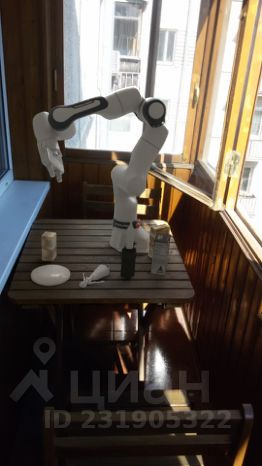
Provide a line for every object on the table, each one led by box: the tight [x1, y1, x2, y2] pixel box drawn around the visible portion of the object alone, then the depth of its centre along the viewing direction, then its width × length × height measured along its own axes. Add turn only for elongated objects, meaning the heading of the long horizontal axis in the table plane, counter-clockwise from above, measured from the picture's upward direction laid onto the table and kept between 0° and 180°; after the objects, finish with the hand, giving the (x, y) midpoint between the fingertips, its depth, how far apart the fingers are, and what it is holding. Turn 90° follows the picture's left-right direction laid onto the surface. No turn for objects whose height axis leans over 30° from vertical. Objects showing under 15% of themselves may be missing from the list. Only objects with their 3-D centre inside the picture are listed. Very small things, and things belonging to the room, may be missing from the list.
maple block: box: [40, 231, 57, 263], centre depth 174 cm, size 5×5×12 cm
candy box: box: [147, 223, 171, 259], centre depth 184 cm, size 9×4×15 cm, turn 125°
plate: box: [30, 264, 71, 287], centre depth 162 cm, size 16×16×1 cm
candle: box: [119, 222, 137, 280], centre depth 162 cm, size 5×5×25 cm
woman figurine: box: [78, 264, 111, 289], centre depth 162 cm, size 12×4×18 cm
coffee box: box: [150, 233, 172, 276], centre depth 171 cm, size 9×6×16 cm
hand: (56, 179), depth 167 cm, fingers open, 8 cm apart
